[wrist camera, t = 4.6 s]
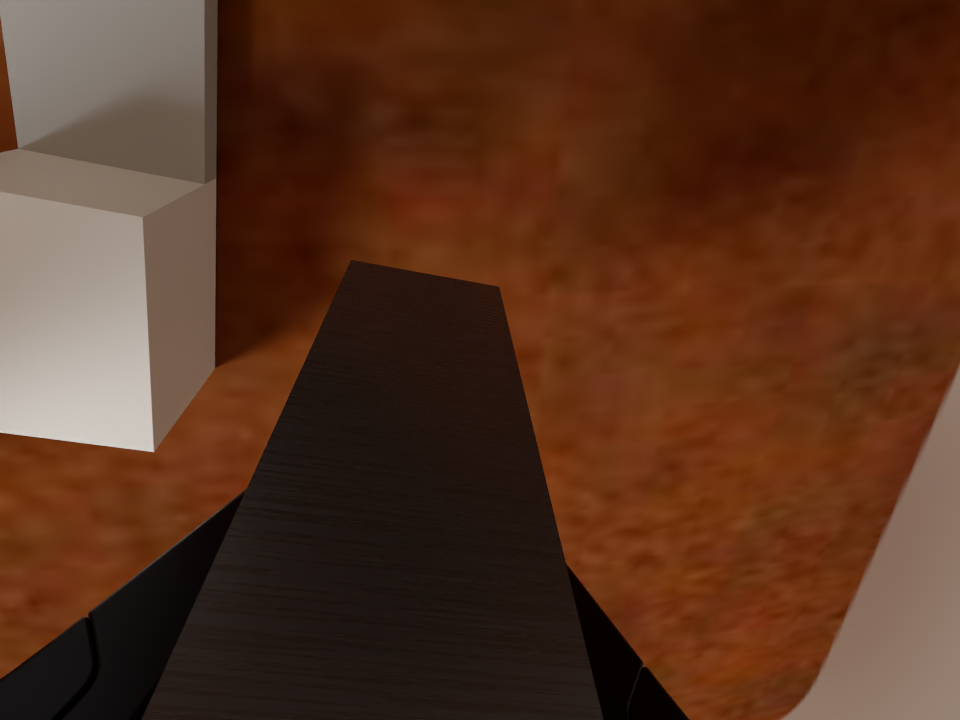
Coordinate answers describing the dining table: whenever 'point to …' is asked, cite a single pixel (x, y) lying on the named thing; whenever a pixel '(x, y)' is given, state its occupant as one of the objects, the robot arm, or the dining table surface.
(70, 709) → the robot arm
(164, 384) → the white block dumbbell
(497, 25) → the dining table surface
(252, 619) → the grey brushed metal block
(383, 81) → the dining table surface
